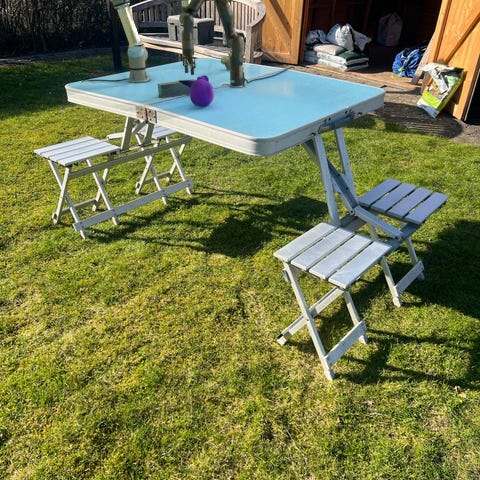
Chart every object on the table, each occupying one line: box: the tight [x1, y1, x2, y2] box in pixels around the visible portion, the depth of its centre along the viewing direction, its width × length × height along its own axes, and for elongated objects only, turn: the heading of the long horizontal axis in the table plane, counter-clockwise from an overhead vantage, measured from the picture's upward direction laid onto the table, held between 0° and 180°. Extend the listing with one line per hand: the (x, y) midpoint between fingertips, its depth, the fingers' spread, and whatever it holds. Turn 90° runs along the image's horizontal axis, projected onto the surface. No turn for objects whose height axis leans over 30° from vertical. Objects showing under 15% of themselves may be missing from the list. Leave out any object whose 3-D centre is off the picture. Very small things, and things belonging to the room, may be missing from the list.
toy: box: [178, 74, 216, 108], centre depth 268 cm, size 16×18×27 cm
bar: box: [157, 78, 197, 99], centre depth 296 cm, size 26×6×8 cm, turn 122°
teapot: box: [220, 49, 245, 71], centre depth 370 cm, size 21×12×15 cm, turn 120°
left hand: (188, 38), depth 338 cm, fingers open, 13 cm apart
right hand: (189, 74), depth 296 cm, fingers open, 8 cm apart
